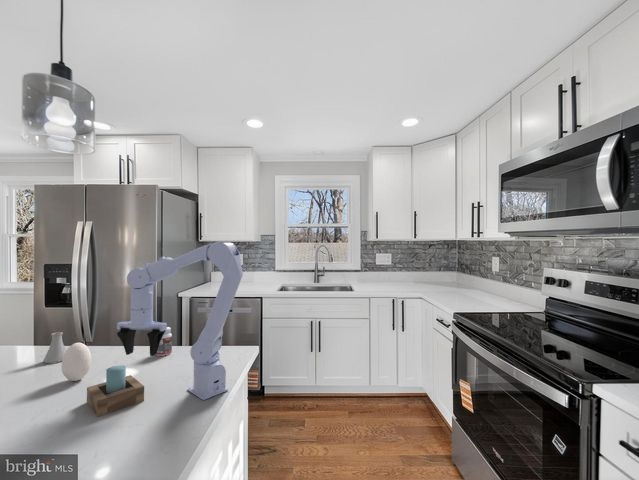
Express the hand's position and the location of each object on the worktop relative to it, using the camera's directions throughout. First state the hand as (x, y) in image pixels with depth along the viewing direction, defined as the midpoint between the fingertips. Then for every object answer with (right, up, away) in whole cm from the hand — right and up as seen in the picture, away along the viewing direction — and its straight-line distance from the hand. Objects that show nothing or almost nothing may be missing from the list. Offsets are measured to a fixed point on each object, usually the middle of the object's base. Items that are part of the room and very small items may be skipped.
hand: (141, 354), depth 91 cm
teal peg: (-3, -10, -7) cm, 13 cm away
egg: (-24, -10, +5) cm, 26 cm away
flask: (-44, -11, +22) cm, 50 cm away
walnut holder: (-3, -10, -7) cm, 13 cm away
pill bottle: (-8, -11, +29) cm, 32 cm away
